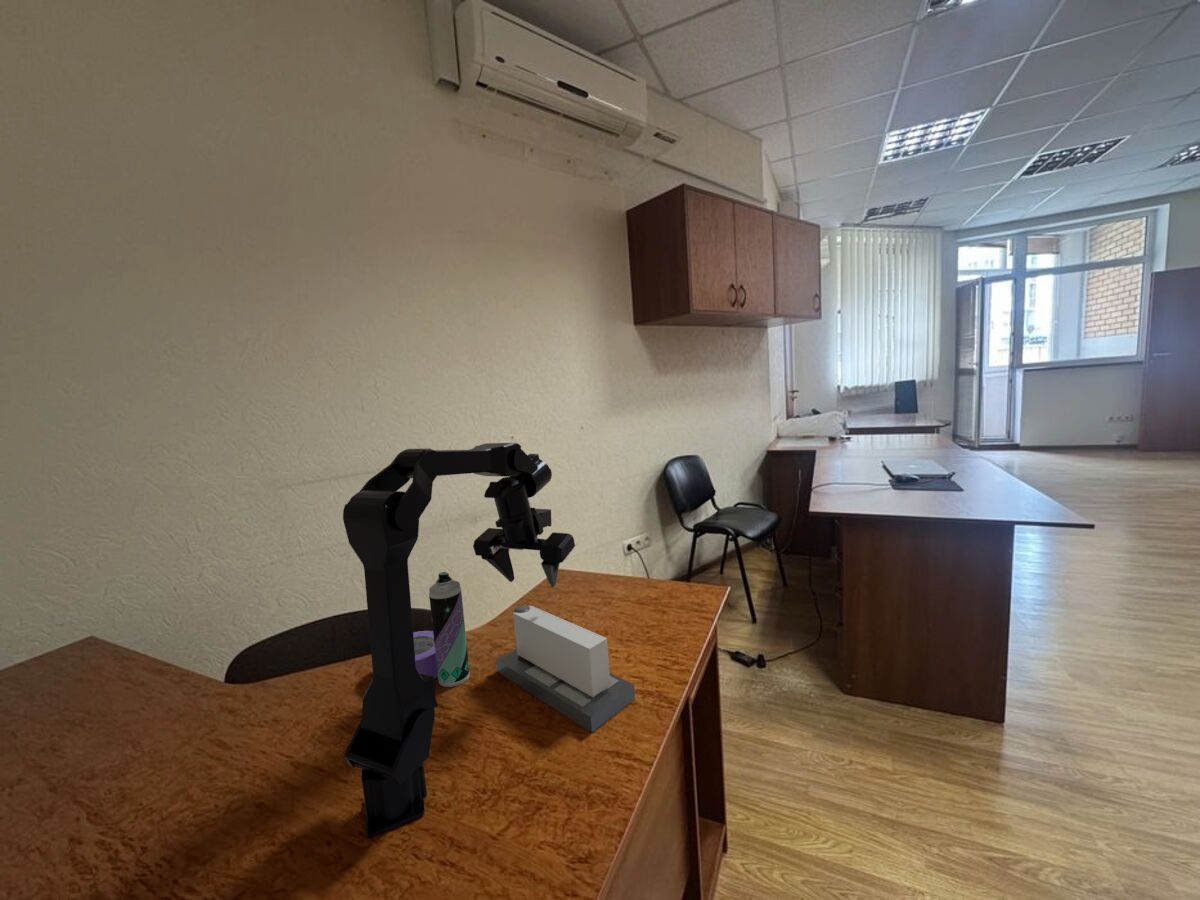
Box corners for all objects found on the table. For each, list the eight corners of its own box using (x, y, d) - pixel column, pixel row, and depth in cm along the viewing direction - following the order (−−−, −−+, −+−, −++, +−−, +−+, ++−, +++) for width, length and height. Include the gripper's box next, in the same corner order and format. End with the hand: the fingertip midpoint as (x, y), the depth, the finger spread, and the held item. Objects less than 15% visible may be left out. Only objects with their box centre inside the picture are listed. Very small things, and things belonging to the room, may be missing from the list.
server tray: (592, 732, 70) (590, 716, 69) (497, 671, 87) (495, 658, 87) (634, 699, 77) (634, 683, 76) (539, 648, 94) (538, 636, 94)
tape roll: (458, 653, 95) (455, 630, 94) (431, 689, 83) (428, 663, 83) (403, 653, 96) (400, 630, 95) (369, 689, 84) (366, 662, 84)
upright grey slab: (512, 651, 88) (508, 611, 87) (529, 642, 91) (525, 603, 90) (592, 697, 73) (589, 649, 72) (610, 684, 76) (607, 638, 75)
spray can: (432, 682, 85) (420, 577, 82) (454, 666, 90) (443, 566, 87) (454, 690, 82) (442, 581, 80) (476, 673, 87) (465, 569, 85)
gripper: (579, 490, 86) (594, 562, 91) (496, 488, 94) (514, 555, 99) (551, 521, 77) (569, 599, 82) (461, 516, 84) (483, 587, 89)
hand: (532, 583), depth 88 cm, fingers open, 9 cm apart
